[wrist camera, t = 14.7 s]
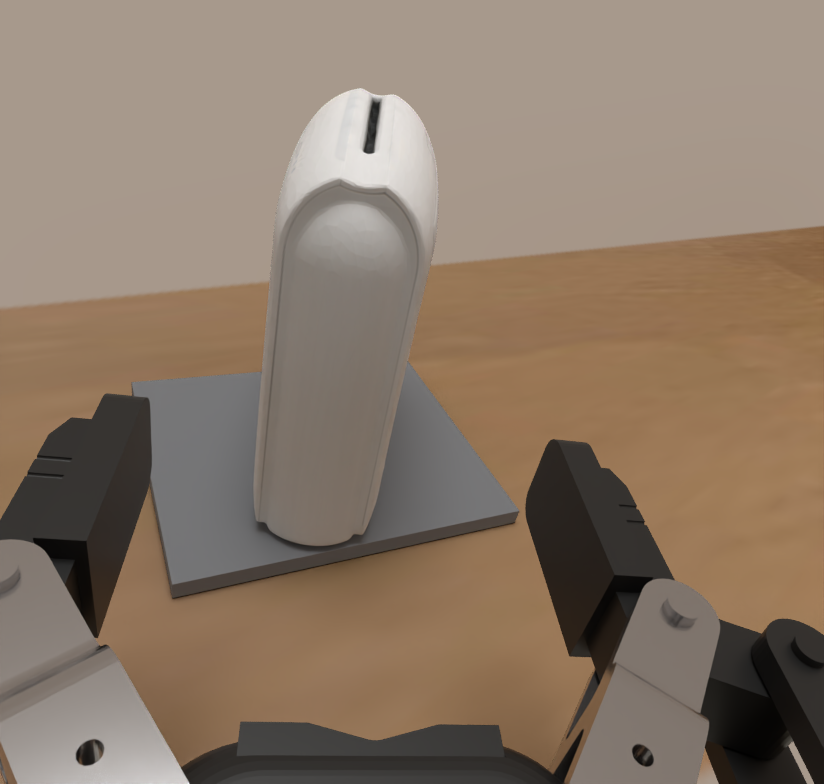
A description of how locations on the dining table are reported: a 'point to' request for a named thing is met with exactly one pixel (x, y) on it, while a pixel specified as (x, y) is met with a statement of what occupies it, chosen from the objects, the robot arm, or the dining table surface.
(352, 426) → the photo printer
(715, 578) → the dining table surface
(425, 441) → the rubber mat
